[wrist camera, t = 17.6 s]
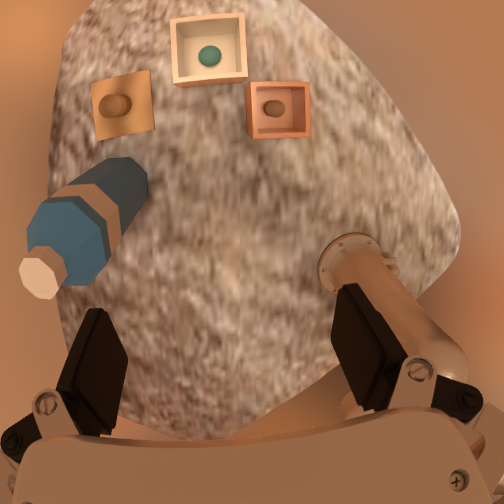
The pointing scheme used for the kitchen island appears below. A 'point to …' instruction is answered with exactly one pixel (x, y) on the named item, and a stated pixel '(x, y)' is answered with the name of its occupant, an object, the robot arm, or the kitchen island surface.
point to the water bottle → (82, 226)
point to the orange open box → (295, 114)
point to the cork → (274, 108)
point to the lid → (123, 105)
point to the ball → (209, 55)
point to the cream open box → (204, 34)
